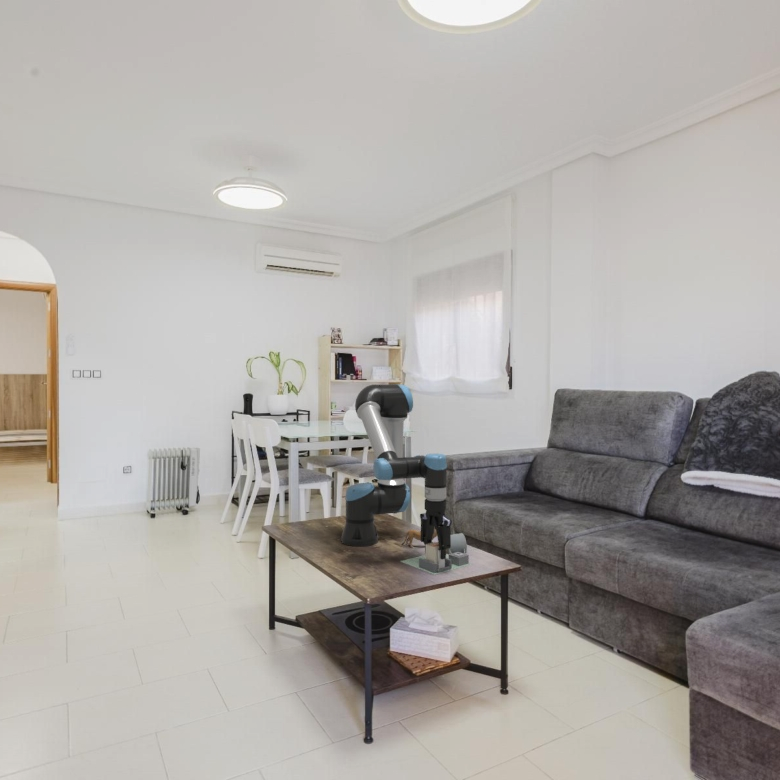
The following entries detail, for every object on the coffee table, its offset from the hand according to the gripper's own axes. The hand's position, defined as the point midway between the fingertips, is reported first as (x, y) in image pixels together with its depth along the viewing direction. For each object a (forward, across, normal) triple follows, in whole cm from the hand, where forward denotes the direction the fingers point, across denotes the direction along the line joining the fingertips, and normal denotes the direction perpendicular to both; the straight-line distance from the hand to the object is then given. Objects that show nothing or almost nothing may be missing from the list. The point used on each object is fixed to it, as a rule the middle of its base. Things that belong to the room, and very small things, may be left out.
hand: (435, 565), depth 194 cm
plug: (+1, 0, 0) cm, 1 cm away
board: (+2, -4, +4) cm, 6 cm away
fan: (+1, +2, +10) cm, 10 cm away
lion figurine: (+2, -25, +16) cm, 29 cm away
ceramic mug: (+2, -8, +19) cm, 21 cm away
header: (+1, 0, 0) cm, 1 cm away
